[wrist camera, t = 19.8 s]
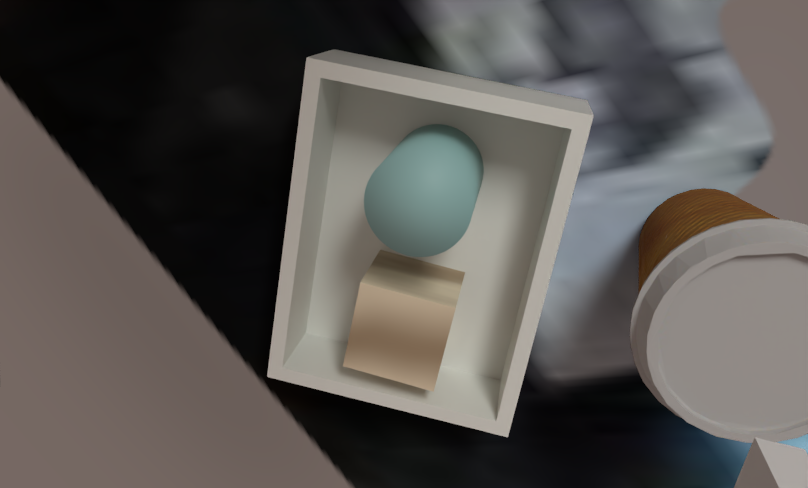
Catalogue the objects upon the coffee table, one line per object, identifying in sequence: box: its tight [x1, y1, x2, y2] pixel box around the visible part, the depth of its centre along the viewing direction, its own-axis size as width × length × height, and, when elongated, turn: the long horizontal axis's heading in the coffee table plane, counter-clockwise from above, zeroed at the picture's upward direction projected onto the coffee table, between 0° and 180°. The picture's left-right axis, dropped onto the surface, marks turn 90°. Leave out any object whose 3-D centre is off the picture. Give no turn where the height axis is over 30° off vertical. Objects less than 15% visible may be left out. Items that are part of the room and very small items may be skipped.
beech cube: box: [343, 250, 465, 392], centre depth 40 cm, size 5×5×5 cm
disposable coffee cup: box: [630, 189, 808, 443], centre depth 34 cm, size 10×10×12 cm
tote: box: [267, 49, 594, 437], centre depth 39 cm, size 18×14×5 cm
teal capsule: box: [364, 124, 484, 257], centre depth 37 cm, size 5×5×7 cm
